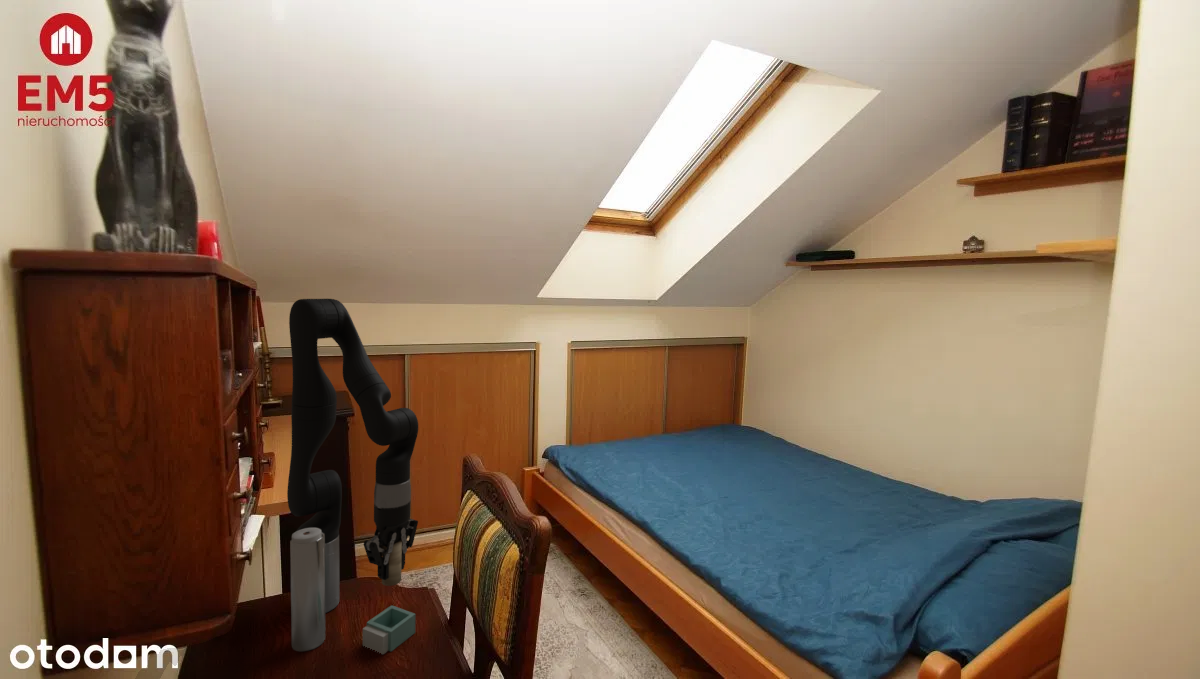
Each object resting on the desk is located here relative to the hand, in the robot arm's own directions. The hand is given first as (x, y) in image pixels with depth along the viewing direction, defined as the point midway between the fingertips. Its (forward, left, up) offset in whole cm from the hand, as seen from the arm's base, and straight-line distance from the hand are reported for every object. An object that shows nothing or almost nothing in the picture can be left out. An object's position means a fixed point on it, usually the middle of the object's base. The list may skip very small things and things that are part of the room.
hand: (391, 573), depth 116 cm
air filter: (-14, -10, -15) cm, 23 cm away
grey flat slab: (0, -5, -15) cm, 16 cm away
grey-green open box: (0, 0, -15) cm, 15 cm away
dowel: (0, 0, -2) cm, 2 cm away
